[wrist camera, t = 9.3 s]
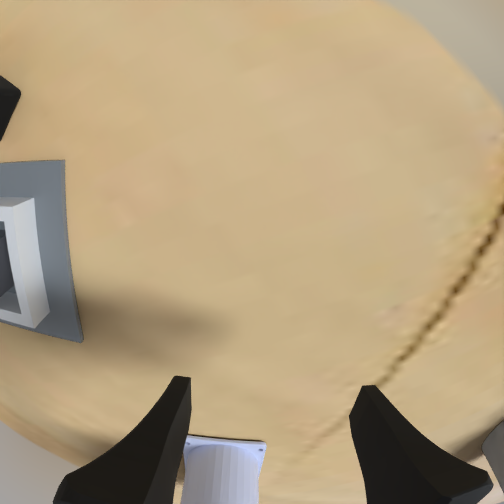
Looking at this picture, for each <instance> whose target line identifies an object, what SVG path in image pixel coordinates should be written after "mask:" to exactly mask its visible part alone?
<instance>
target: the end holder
mask: <svg viewBox="0 0 504 504" xmlns="http://www.w3.org/2000/svg"><path fill="white" fill-rule="evenodd" d="M0 229H1V230H5V232H6V239H7V246H8V253H9V258H10V264H11V269H12V275H13V279H14V284H15V285H14V286H13V287H12V288H10V289H9V290H8V291H7V292H6V293H4V294H3V295H2V296H1V297H0V322H3V323H6V324H9V325H13V326H16V327H20V328H23V329H27V330H30V331H34V332H38V333H41V334H45V335H49V336H53V337H57V338H61V339H66V340H70V341H74V342H79V343H82V341H83V340H84V339H83V334H82V329H81V324H80V319H79V314H78V308H77V302H76V296H75V290H74V283H73V276H72V269H71V261H70V252H69V242H68V231H67V217H66V198H65V160H42V161H21V162H5V163H0Z"/></svg>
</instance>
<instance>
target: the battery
mask: <svg viewBox="0 0 504 504" xmlns="http://www.w3.org/2000/svg"><path fill="white" fill-rule="evenodd" d="M20 96H21V91H20V90H19V89H18V88H17V87H15V86H14V85H13V84H11V83H10V82H9V81H7V80H6V79H5V78H3V77H2V76H1V75H0V141H1V139H2V137H3V134H4V132H5V129H6V127H7V125H8V122H9V120H10V118H11V115H12V113H13V111H14V109H15V107H16V105H17V102H18V100H19V98H20Z"/></svg>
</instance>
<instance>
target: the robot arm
mask: <svg viewBox="0 0 504 504" xmlns="http://www.w3.org/2000/svg"><path fill="white" fill-rule="evenodd" d="M191 410H192V407H191V378H190V377H183V376H174V377H173V379H172V380H171V382H170V384H169V385H168V387H167V389H166V390H165V392H164V393H163V394H162V396H161V397H160V399H159V400H158V401H157V403H156V404H155V405H154V406H153V408H152V409H151V410H150V411H149V413H148V414H147V415H146V416H145V417H144V418H143V419H142V421H141V422H140V423H139V424H138V425H137V426H136V427H135V428H134V429H133V430H132V431H131V432H130V433H129V434H128V435H127V436H126V437H124V438H123V439H122V440H121V441H120V442H119V443H117V444H116V445H115V446H114V447H112V448H111V449H110V450H108V451H107V452H106V453H104V454H103V455H101V456H100V457H98V458H97V459H95V460H93V461H92V462H90V463H89V464H87V465H85V466H83V467H81V468H79V469H77V470H76V471H74V472H71V473H69V474H67V475H66V476H65V477H64V479H63V480H62V482H61V484H60V485H59V488H58V490H57V492H56V495H55V497H54V500H53V504H173V496H174V489H175V482H176V477H177V472H178V468H179V465H180V461H181V457H182V453H184V463H185V471H186V472H185V478H184V484H183V490H182V497H181V503H180V504H259V490H258V477H259V474H260V470H261V466H262V462H263V459H264V455H265V451H266V443H265V442H255V441H239V440H226V439H215V438H206V437H198V436H190V435H187V434H188V431H189V424H190V417H191ZM349 420H350V428H351V434H352V438H353V442H354V446H355V449H356V453H357V456H358V460H359V463H360V467H361V470H362V474H363V478H364V483H365V490H366V498H367V504H477V503H478V502H479V501H480V500H481V499H483V498H484V497H485V496H486V495H487V494H488V493H489V492H490V491H491V490H492V488H493V483H492V481H491V479H490V476H489V474H488V472H487V471H485V470H483V469H480V468H477V467H475V466H472V465H470V464H468V463H466V462H464V461H461V460H459V459H458V458H456V457H454V456H452V455H450V454H449V453H447V452H446V451H444V450H443V449H441V448H440V447H438V446H437V445H435V444H434V443H433V442H431V441H430V440H429V439H427V438H426V437H425V436H424V435H423V434H421V433H420V432H419V431H418V430H417V429H416V428H415V427H414V426H413V425H412V424H411V423H410V422H409V421H408V420H407V419H406V418H405V417H404V416H403V415H402V414H401V413H400V412H399V411H398V410H397V409H396V408H395V407H394V406H393V405H392V403H391V402H390V401H389V400H388V399H387V398H386V397H385V396H384V395H383V393H382V392H381V391H380V390H379V389H378V388H377V387H376V386H375V385H367V386H362V388H361V390H360V392H359V395H358V397H357V399H356V402H355V404H354V406H353V408H352V411H351V413H350V415H349Z"/></svg>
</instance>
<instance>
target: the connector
mask: <svg viewBox="0 0 504 504" xmlns="http://www.w3.org/2000/svg"><path fill="white" fill-rule="evenodd" d="M14 285H15V284H14V279H13V275H12V269H11V264H10V258H9V253H8V246H7V239H6V232H5V230H1V229H0V297H1V296H2V295H3V294H4V293H6V292H7V291H8V290H9V289H10V288H12V287H13V286H14Z"/></svg>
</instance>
